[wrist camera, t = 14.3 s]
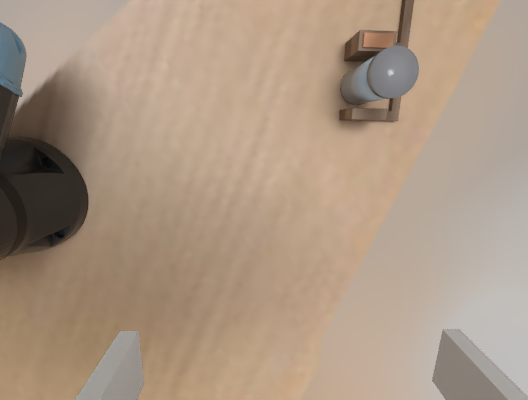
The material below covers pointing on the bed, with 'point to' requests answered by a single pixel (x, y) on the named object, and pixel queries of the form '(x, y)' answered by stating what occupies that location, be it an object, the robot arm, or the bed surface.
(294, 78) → the bed surface
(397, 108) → the clip rack
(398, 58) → the fuse
